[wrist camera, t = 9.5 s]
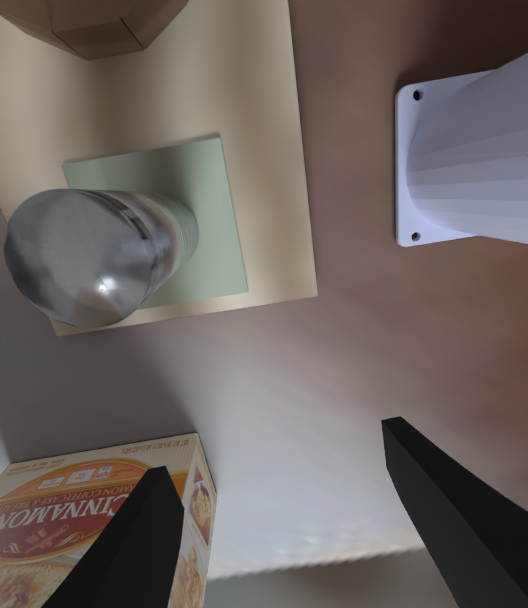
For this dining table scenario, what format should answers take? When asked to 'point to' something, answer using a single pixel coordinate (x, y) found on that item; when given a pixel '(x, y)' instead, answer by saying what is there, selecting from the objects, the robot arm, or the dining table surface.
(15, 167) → the board
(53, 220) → the pin
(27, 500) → the coffeecake box
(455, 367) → the dining table surface
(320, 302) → the dining table surface
